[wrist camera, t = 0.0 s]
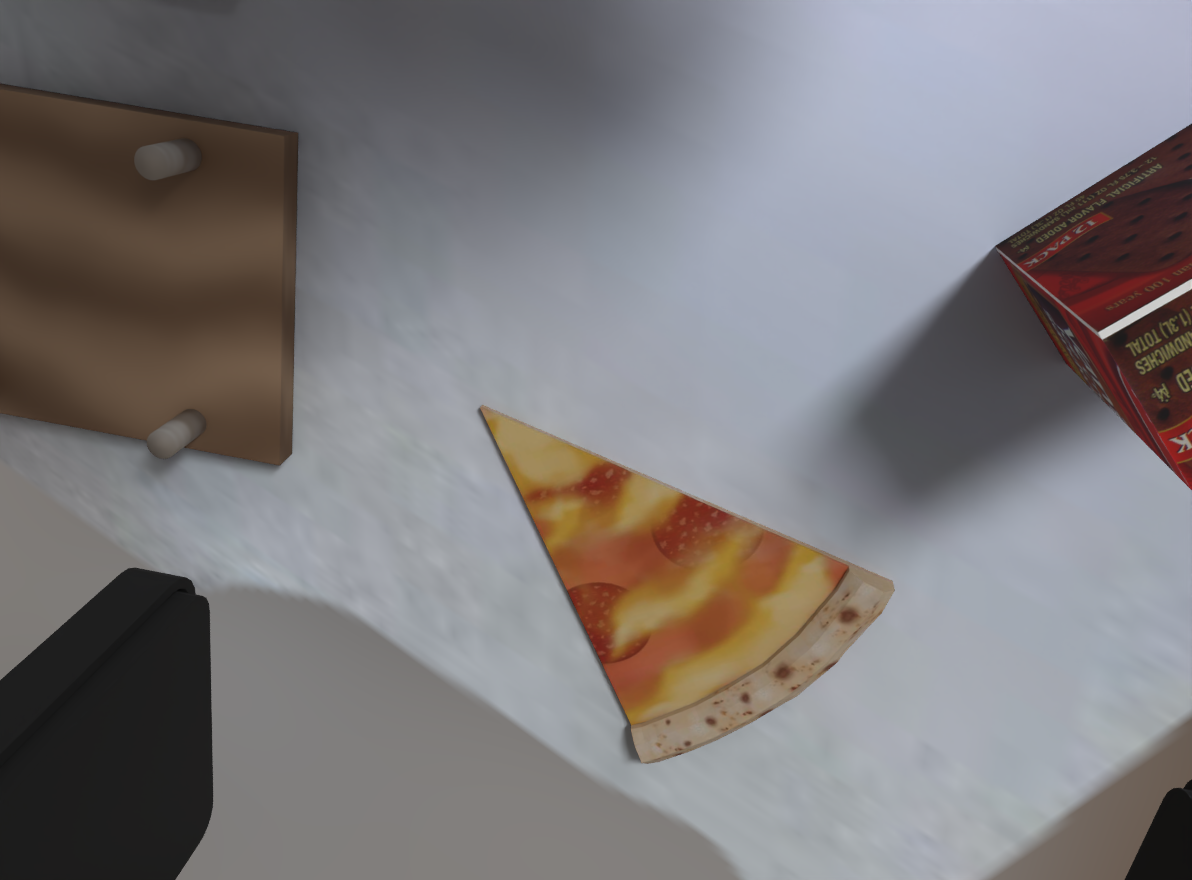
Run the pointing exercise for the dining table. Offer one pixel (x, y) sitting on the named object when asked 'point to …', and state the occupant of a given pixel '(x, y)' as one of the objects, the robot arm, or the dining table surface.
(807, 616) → the pizza slice
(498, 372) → the dining table surface
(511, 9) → the dining table surface
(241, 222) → the peg rack
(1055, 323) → the ice cream box
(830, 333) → the dining table surface
